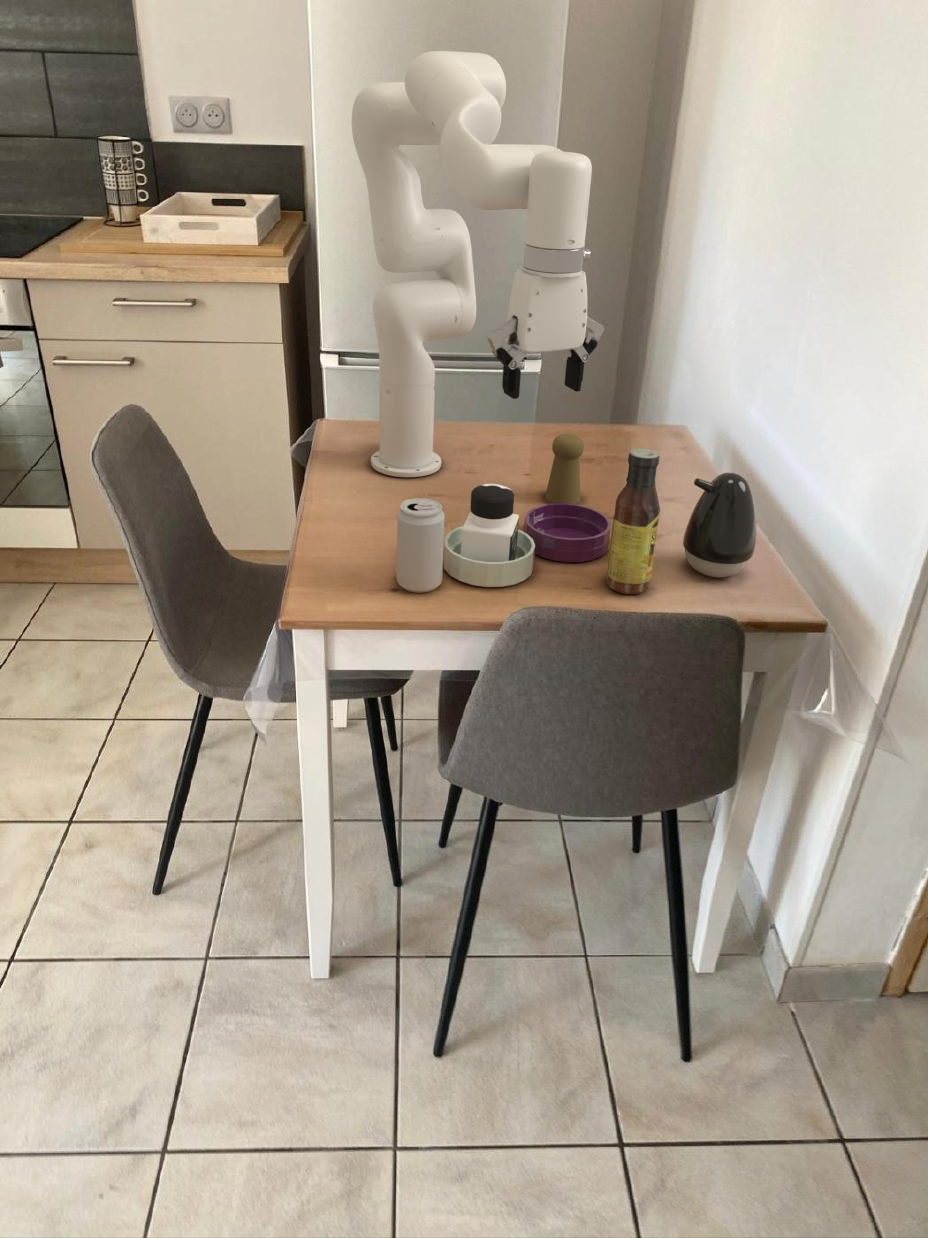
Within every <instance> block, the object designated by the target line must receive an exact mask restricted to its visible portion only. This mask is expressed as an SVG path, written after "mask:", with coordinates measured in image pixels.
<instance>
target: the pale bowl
mask: <svg viewBox="0 0 928 1238" xmlns="http://www.w3.org/2000/svg"><path fill="white" fill-rule="evenodd" d="M463 526H464V525H462V526H458V527H456V528H453V529H452V530H450V531H449V532H448V533H446V535H445V536H444V545H443V568H444V569H443V570H445V572H446V573H447V574H448V575H449V576H450V577H452V578H454V579H456V580H457V581H458V582H462V583H465V584H468V585H471V586H475V587H476V586H477V587H482V588H483V587H484V588H493V587H494V588H500V587H501V588H502V587H509V586H513V585H517V584H520V583H522V582H523V581H526V580H527V579H528V578H529V577H531V576H532V573H533V571H534V565H535V562H534V561H535V555H536V554H535V544H534V541H533V539H532V538H531V537H530V536H529V535H528V534H526V533H525V532H523V531H524V530H522V529H521V530H520V529H519V528H518V536H517V548H516V558H515V560H511V561H505V562H483V561H476V560H472V559H469V558H466V557H462V556H461V536H462V528H463Z"/></svg>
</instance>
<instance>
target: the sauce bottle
mask: <svg viewBox="0 0 928 1238" xmlns="http://www.w3.org/2000/svg"><path fill="white" fill-rule="evenodd" d="M627 463H628V471H627V477H626V479H625V481H626V483H625V486H624V487H623V488H622V489H621V490H620V491H619V493H618V495H617V496H616V499H615V506H614V513H613V516H612V522H611V530H610V539H609V548H608V557H607V558H608V559H607V566H606V575H607V576H606V585H607V586H608V587H609V589H611V590H613V591H614V592H617V593H621V594H624V595H625V594H626V595H639V594H641V593H643V592H645V591H646V590H647V589H648V587H649V583H650V580H651V578H652V571H653V565H654V558H655V550H656V544H657V538H658V528H659V522H660V516H661V506H660V501H659V497H658V493H657V486H656V477H657V476H656V475H657V468H658V466H659V464H660V453H659V452H658V451H656V450H654V449H650V448H645V447H644V448H643V447H638V448H633V449H631V450H629V452H628V458H627Z"/></svg>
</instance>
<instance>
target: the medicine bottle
mask: <svg viewBox="0 0 928 1238" xmlns="http://www.w3.org/2000/svg"><path fill="white" fill-rule="evenodd" d="M514 505H515V492H513V490H512V489H511V488H510V487H508V486H505V485H502V484H498V483H484V484H480V485H477V486H475V487H474V488H473V489H472V490H471V492H470V508H469V509H470V510H469V513H468V515H467V517H466V519H465V522H464V523H463V525H462V526H463V528H462V536H461V556H462V557H466V558H469V559H472V560H476V561H483V562H505V561H511V560H515V558H516V548H517V536H518V529H519V524H520V523H519V522H520V521H519V520H520V515H519V514H517V513H514V507H515V506H514Z"/></svg>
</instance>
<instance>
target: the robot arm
mask: <svg viewBox="0 0 928 1238" xmlns="http://www.w3.org/2000/svg"><path fill="white" fill-rule="evenodd" d="M506 80H507V79H506V76H505V74H504V70H503V68H502V66H501V64H499V62H498V61H497V60H496V59H495V58H494V57H493V56H491V55H489V54H487V53H483V52H472V51H454V50H453V51H452V50H432V51H426V52H424V53H422V54H420V55H418V56H416V58H414V59H413V60H412V61H411V62H410V64H409V66H408V67H407V69H406V71H405V75H404V81H386V82H376V83H373V84H370V85H367V86H365V87H364V88H362V89H361V90H360V91H359V92H358V93H357V94H356V97H355V99H354V101H353V106H352V110H351V133H352V139H353V143H354V147H355V151H356V154H357V156H358V160H359V163H360V166H361V169H362V171H363V174H364V178H365V181H366V186H367V193H368V195H367V196H368V203H369V210H370V211H369V212H370V221H371V227H372V228H371V229H372V235H373V236H372V238H373V244H374V250H375V255H376V259H377V262H378V264H379V266H380V267H381V268H382V269H383V270H385V271H386V272H389V273H397V274H399V273H401V274H403V273H423V272H435V274H436V277H437V279H427V280H426V279H420V280H408V281H397V282H393V283H390V284H387V285H385V286H384V287H382V288H381V289H380V290H379V291H378V292H376V295H375V296H374V300H373V304H372V313H373V321H374V326H375V332H376V338H377V347H378V365H379V366H378V367H379V371H378V373H379V375H378V378H379V450H377V451H376V452H373V454H372V455H371V456H370V457H371V458H370V466H371V467H372V468H373V470H375V471H376V472H378V473H380V474H382V475H386V476H390V477H395V478H418V477H419V478H420V477H426V476H429V475H432V474H435V473H437V471H440V468H441V467H442V458H441V456H440V455H439V454H438V453H436V452H435V451H434V428H435V427H434V426H435V399H436V398H435V395H436V394H435V393H436V368H435V363H434V361H433V359H432V358H431V356H430V355H429V353H428V352H427V350H426V349H425V347H424V342H428V341H433V340H442V339H451V338H457V337H463V336H466V335H467V334H469V333H470V332H471V330H473V327H474V326H475V322H476V319H477V294H476V284H475V283H476V282H475V272H474V260H473V249H472V242H471V236H470V231H469V228H468V226H467V224H466V222H465V220H464V218H463V217H462V216H461V214H459V212H457V211H456V210H453V209H450V208H426V207H425V206H424V202H423V196H422V194H423V193H422V184H421V178H420V176H419V174H418V172H417V170H416V168H415V166H414V165H413V163H412V161H411V160H410V159H409V157H408V156H407V155H406V154H405V153H404V152H403V151H402V149H400V146H439V156H440V158H439V159H440V165H441V168H442V172H443V175H444V178H445V180H446V182H447V183H448V184H449V185H450V186H451V188H452V189H453V190H454V191H455V192H456V193H457V195H458V196H459V197H460V198H461V199H462V200H463V201H465V202H466V203H467V204H468V205H470V206H471V207H474V208H475V209H478V210H482V211H500V210H526V221H525V236H524V249H523V250H524V251H523V252H524V254H523V263H522V268H521V269H517V270H516V273H515V275H514V279H513V283H512V287H511V292H510V295H509V296H510V297H509V301H508V302H509V303H508V309H507V316H506V321H505V322H503V323H502V324H501V325H499V326H498V327H496V328H494V329H493V330H491V331H489V332H488V333H487V335H486V339H487V341H488V344H489V346H490V349H491V351H492V352H491V353H492V354H493V355H494V357H496V358H497V360H498V361H499V363H500V364H502V365H503V367H502V379H501V380H502V381H501V387H502V390H503V393H504V394H505V396H508V397H510V398H511V399H513V400H517V399H519V397H520V389H521V376H522V370H521V369H520V368H519V365H520V364H521V363H522V361H523V360H524V359H525V357H526V355H527V354H528V355H531V354H542V353H543V354H544V353H554V352H564V351H568V352H569V354H570V356H567V358H566V364H565V374H564V386H565V387H567V388H569V389H570V390H572V391H574V392H580V391H581V390H582V382H583V379H584V370H585V363H587V362H588V361H589V359H590V355H591V354H592V353H593V352H594V351H595V349H597V347H598V342H599V341H600V339H601V337H602V335H603V333H604V331H605V327H604V325H603V324H601V323H599V322H598V321H595V320H594V319H592V318H591V317H589V316H588V285H587V283H588V282H587V275H586V271H584V270H583V267H584V261H589V260H590V259H591V256H592V254H591V249H589V248H586V246H585V244H586V236H587V223H588V215H589V204H590V195H591V184H592V173H593V172H592V171H593V167H592V166H593V165H592V161H591V159H590V158H589V157H588V156H587V155H585V154H582V153H578V152H573V151H563V150H562V149H559V148H558V147H556V146H553V145H549V144H524V143H512V144H511V143H497V144H495V143H494V144H492V143H493V142H494V141H495V139H496V138H497V136H498V134H499V131H500V129H501V124H502V108H503V105H504V103H505V100H506V95H507V81H506ZM587 330H588V333H587ZM586 333H587V336H586ZM504 339H505V343H506V344H507V345H508V346H507V347H506V349H505V348H504V344H503V341H504Z"/></svg>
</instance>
